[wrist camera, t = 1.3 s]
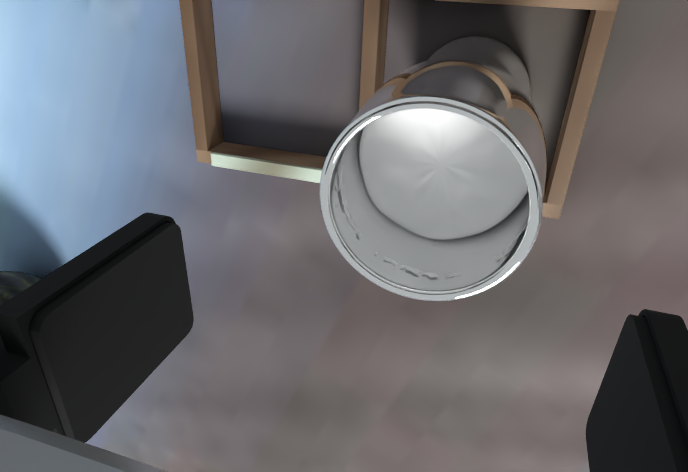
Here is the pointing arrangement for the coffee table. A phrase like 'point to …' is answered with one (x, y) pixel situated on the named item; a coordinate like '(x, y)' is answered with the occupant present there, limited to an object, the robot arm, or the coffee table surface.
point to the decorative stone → (14, 284)
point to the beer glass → (440, 175)
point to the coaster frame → (372, 76)
